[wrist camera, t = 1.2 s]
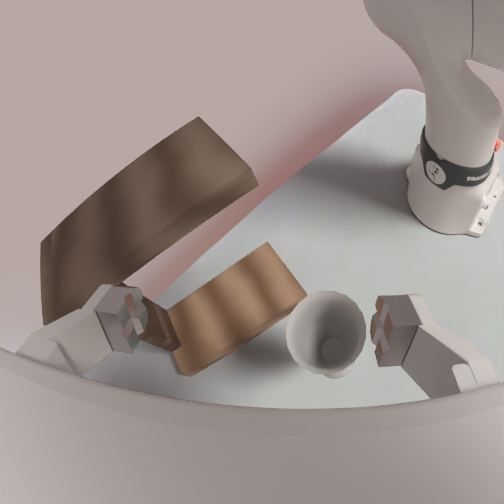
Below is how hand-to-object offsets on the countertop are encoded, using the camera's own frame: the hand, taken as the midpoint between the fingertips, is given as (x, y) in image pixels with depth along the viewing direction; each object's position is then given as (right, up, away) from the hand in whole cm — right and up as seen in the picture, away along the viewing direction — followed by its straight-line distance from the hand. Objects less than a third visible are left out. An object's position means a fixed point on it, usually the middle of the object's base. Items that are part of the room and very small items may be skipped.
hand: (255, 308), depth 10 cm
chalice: (+12, -13, +29) cm, 34 cm away
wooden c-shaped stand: (-3, -8, +37) cm, 38 cm away
